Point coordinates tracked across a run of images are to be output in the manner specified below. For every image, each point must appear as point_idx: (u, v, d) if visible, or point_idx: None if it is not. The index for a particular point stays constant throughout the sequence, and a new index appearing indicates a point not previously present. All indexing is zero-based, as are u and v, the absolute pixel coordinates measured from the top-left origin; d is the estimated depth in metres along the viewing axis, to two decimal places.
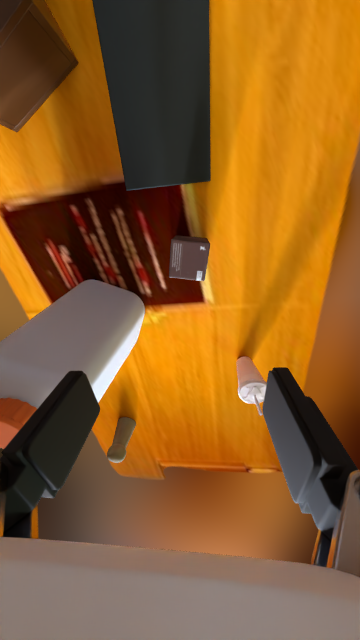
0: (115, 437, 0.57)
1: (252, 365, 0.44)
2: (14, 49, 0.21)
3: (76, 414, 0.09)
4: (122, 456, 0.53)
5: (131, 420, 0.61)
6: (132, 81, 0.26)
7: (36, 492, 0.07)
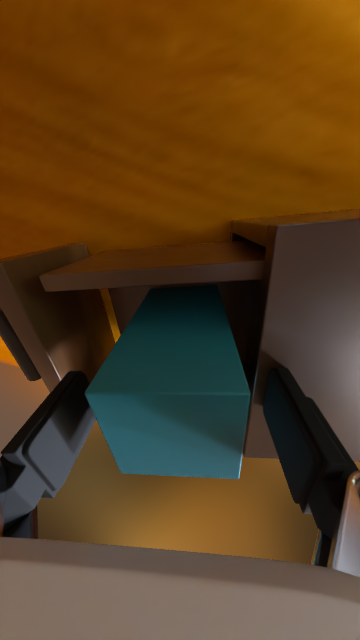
0: None
1: None
2: None
3: (76, 414, 0.09)
4: None
5: None
6: None
7: (36, 492, 0.07)
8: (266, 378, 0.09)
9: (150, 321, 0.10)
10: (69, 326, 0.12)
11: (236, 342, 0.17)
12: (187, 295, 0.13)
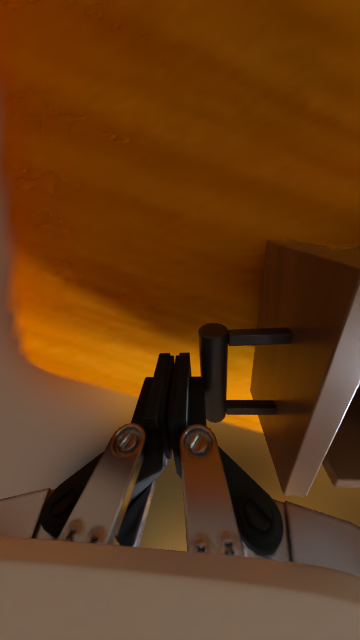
0: None
1: None
2: None
3: None
4: None
5: None
6: None
7: (162, 458, 0.07)
8: None
9: None
10: None
11: None
12: None
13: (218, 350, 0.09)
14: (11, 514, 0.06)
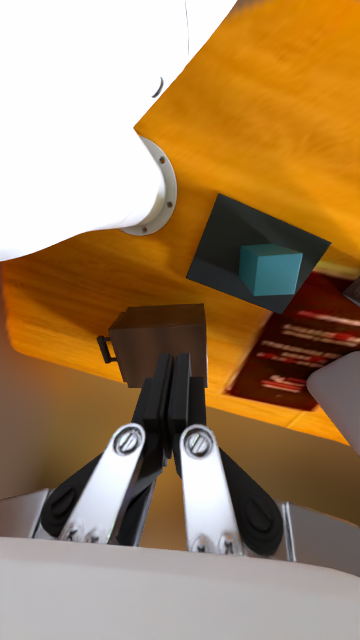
0: None
1: None
2: None
3: None
4: None
5: None
6: (233, 275, 0.34)
7: (162, 458, 0.07)
8: (123, 360, 0.34)
9: (257, 249, 0.27)
10: None
11: None
12: (262, 245, 0.30)
13: (100, 342, 0.37)
14: (11, 513, 0.06)
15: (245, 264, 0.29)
